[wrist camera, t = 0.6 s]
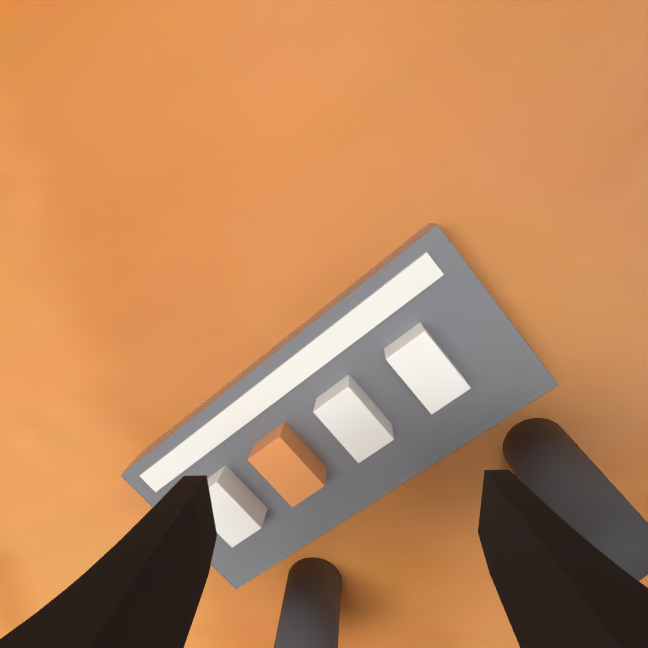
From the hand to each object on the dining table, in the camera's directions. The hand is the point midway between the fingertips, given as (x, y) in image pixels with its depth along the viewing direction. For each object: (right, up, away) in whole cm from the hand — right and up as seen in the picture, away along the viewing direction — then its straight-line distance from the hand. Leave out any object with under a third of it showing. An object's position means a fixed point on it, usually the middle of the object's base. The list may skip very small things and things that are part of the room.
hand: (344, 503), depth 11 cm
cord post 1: (-1, -11, +14) cm, 18 cm away
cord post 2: (+10, -2, +11) cm, 15 cm away
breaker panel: (0, 0, +11) cm, 11 cm away
